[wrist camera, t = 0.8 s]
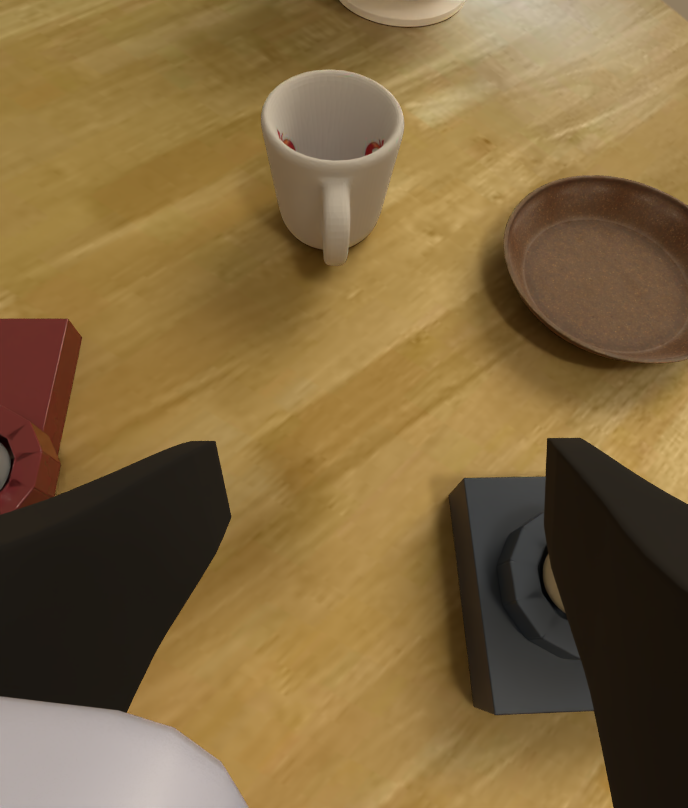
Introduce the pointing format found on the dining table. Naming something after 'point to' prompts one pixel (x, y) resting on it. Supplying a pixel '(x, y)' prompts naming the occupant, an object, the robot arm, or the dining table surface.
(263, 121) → the cup
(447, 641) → the dining table surface
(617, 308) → the saucer
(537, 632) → the dark knob button block
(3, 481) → the light grey cylinder
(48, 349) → the red socket plate
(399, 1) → the decorative vase
